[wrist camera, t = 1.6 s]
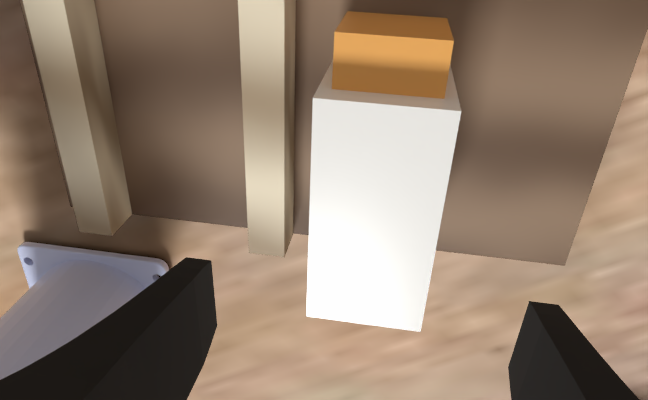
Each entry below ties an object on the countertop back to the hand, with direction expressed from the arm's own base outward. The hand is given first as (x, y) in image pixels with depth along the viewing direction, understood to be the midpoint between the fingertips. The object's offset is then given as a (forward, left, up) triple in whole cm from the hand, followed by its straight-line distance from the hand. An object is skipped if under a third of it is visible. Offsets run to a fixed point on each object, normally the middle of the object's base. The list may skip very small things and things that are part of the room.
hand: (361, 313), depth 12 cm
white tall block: (-1, 0, -9) cm, 9 cm away
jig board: (+1, +3, -10) cm, 11 cm away
